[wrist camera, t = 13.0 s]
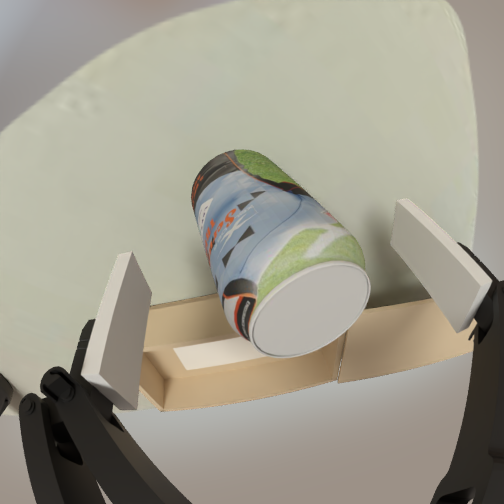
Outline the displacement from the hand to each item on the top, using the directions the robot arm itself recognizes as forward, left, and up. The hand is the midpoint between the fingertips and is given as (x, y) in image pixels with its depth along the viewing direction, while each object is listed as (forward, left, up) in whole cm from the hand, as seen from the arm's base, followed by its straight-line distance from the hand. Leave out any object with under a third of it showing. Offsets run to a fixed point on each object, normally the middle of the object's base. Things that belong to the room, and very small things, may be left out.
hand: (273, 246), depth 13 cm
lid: (+15, -15, 0) cm, 21 cm away
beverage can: (0, 0, -7) cm, 7 cm away
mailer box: (-4, -15, -7) cm, 17 cm away
